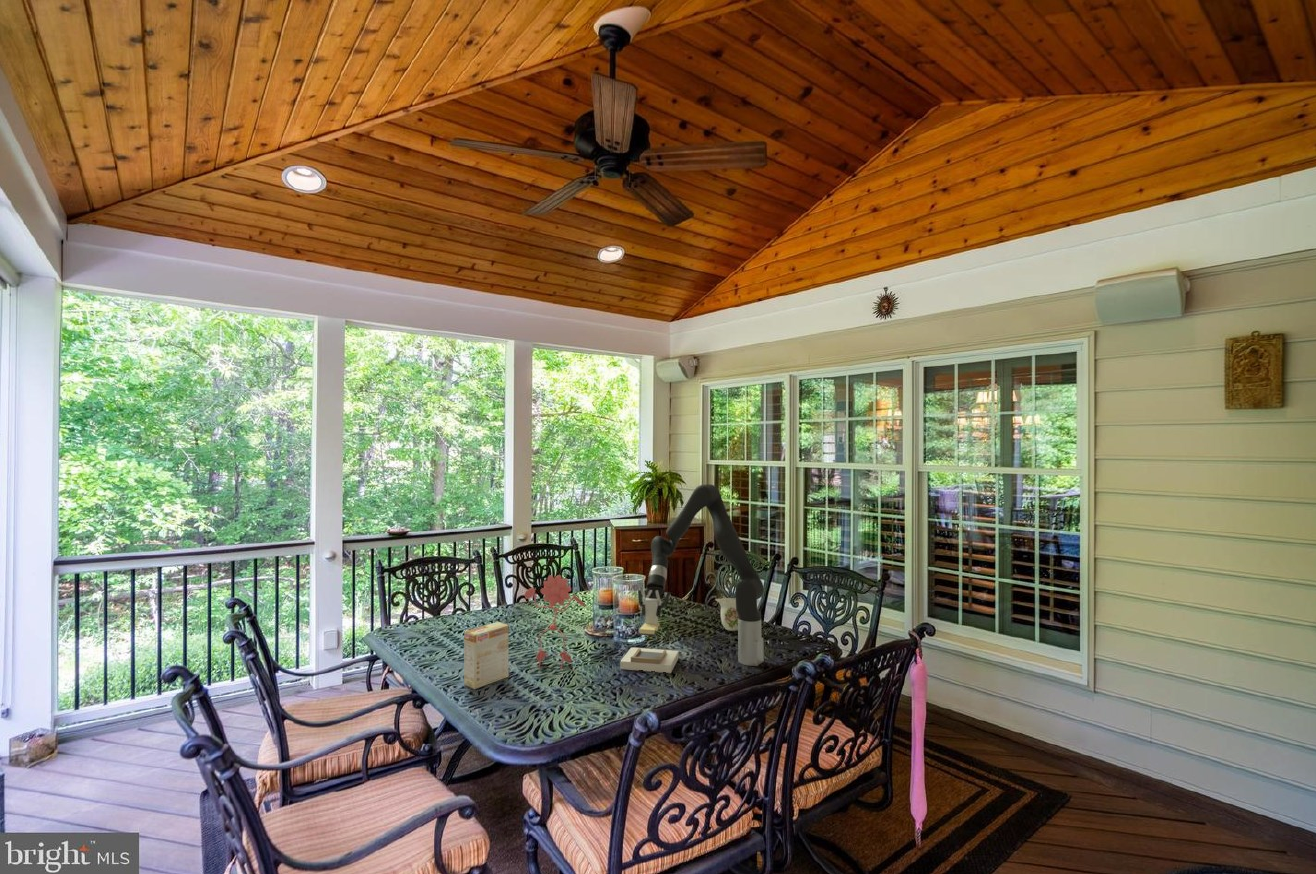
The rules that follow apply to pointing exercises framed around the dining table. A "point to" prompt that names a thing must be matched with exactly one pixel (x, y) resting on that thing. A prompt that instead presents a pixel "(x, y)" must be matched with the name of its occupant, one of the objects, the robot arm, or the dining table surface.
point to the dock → (649, 659)
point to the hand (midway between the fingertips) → (650, 615)
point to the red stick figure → (554, 593)
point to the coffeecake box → (486, 655)
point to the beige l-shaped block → (650, 618)
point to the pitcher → (729, 613)
